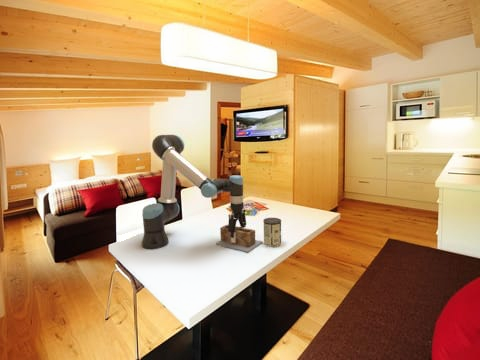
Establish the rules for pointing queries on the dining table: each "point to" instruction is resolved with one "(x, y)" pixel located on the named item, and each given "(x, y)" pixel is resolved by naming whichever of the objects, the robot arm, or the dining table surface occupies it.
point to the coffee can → (272, 232)
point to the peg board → (238, 247)
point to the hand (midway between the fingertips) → (237, 239)
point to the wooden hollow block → (239, 236)
